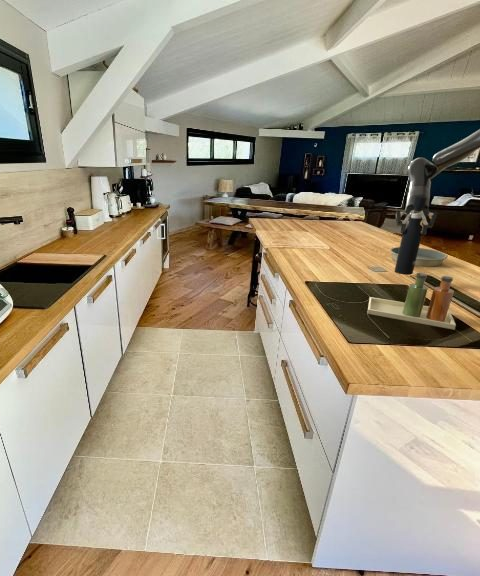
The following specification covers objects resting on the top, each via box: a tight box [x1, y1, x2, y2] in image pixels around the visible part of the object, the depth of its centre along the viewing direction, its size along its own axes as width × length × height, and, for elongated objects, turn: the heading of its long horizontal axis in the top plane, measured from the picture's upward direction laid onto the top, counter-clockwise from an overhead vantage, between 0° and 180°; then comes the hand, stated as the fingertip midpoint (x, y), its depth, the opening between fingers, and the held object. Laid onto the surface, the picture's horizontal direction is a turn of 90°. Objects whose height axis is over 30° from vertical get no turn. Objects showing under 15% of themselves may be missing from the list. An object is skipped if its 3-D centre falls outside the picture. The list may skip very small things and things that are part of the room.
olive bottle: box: [402, 272, 429, 317], centre depth 101 cm, size 5×5×14 cm
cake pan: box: [389, 246, 448, 268], centre depth 162 cm, size 25×25×4 cm
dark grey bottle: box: [394, 197, 427, 276], centre depth 124 cm, size 6×6×30 cm
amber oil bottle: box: [426, 275, 455, 322], centre depth 98 cm, size 5×5×14 cm
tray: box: [366, 296, 457, 330], centre depth 104 cm, size 23×12×2 cm, turn 60°
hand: (412, 234), depth 122 cm, fingers closed on dark grey bottle, 5 cm apart
